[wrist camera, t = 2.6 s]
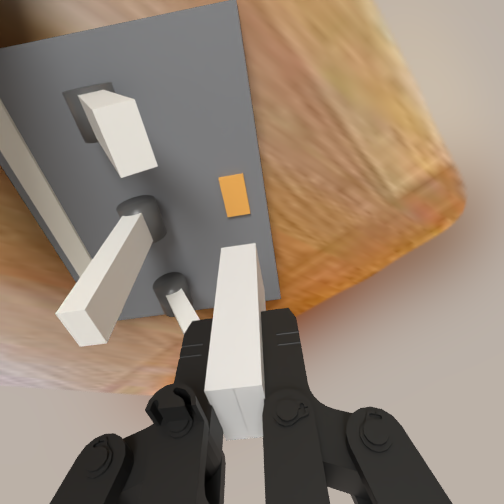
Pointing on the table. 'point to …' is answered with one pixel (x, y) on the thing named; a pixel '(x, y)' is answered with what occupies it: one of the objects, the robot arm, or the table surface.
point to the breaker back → (175, 298)
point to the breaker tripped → (112, 272)
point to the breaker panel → (161, 140)
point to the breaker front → (112, 126)
